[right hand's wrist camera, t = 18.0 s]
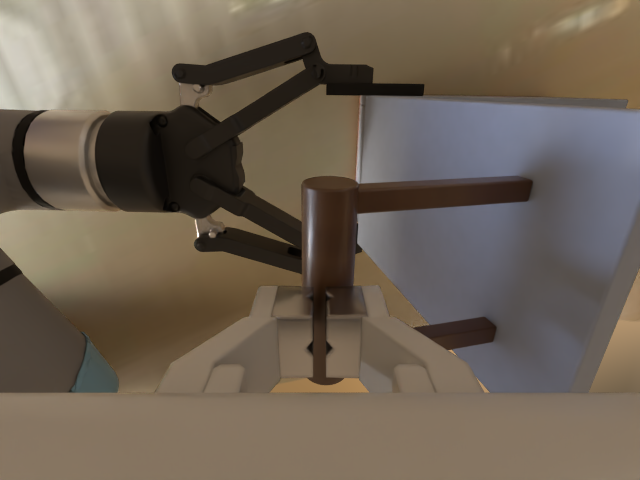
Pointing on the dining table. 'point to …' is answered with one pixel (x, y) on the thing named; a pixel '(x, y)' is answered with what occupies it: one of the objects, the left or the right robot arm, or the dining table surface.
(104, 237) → the dining table surface
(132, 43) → the dining table surface
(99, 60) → the dining table surface
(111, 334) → the dining table surface
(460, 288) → the lid
